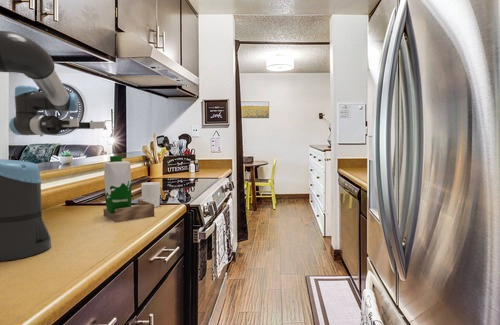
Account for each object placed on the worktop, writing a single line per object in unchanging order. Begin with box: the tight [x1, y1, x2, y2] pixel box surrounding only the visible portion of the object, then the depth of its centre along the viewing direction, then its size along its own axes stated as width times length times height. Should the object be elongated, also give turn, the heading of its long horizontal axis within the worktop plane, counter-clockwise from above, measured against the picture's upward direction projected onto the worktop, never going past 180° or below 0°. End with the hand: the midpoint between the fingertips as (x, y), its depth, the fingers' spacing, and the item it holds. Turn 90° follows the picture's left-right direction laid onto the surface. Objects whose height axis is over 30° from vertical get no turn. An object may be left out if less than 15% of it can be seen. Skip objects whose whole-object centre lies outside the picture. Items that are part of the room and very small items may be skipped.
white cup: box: [140, 181, 161, 208], centre depth 139 cm, size 8×8×10 cm
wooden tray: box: [102, 198, 155, 223], centre depth 121 cm, size 14×14×4 cm
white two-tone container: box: [103, 155, 132, 214], centre depth 118 cm, size 9×9×20 cm
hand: (91, 123), depth 122 cm, fingers open, 13 cm apart
